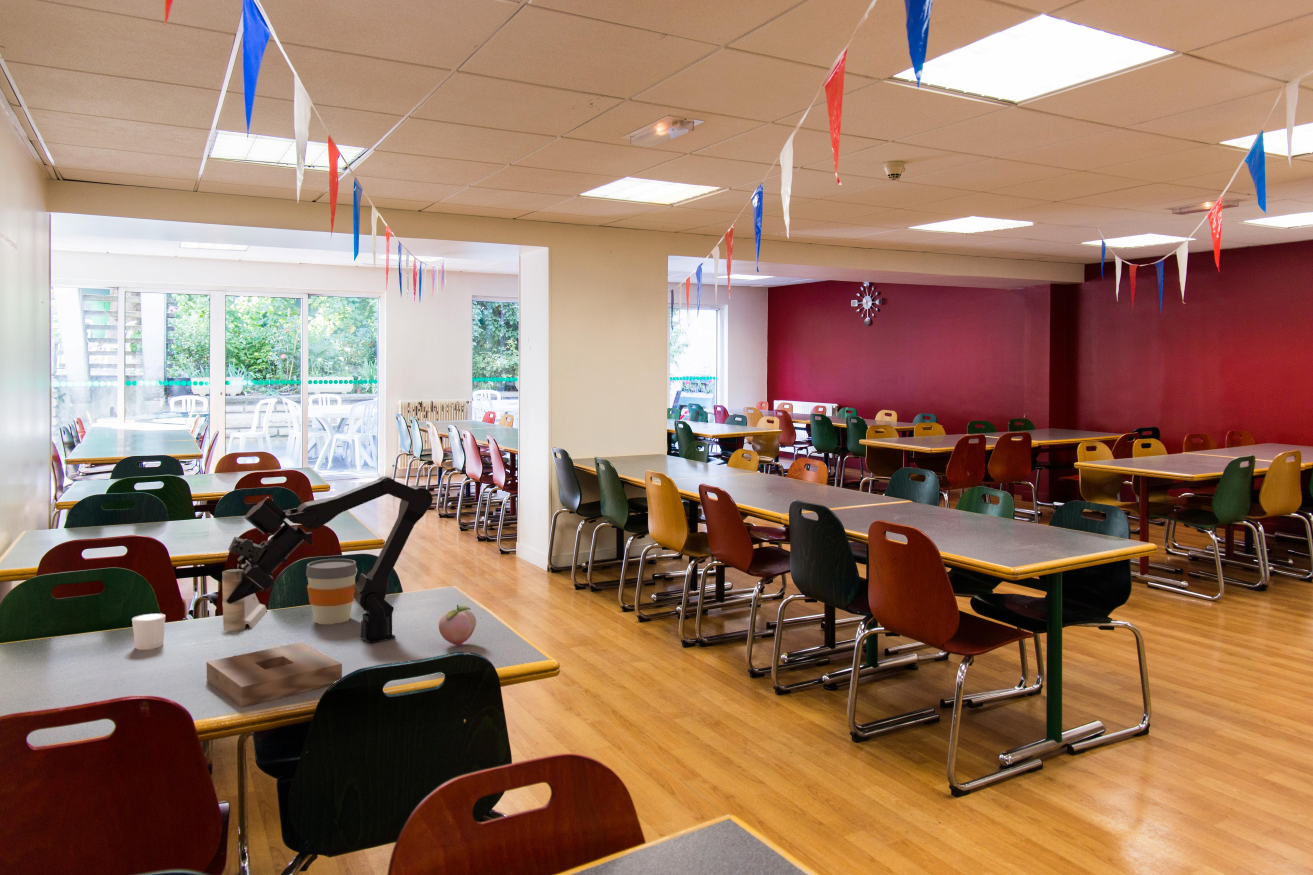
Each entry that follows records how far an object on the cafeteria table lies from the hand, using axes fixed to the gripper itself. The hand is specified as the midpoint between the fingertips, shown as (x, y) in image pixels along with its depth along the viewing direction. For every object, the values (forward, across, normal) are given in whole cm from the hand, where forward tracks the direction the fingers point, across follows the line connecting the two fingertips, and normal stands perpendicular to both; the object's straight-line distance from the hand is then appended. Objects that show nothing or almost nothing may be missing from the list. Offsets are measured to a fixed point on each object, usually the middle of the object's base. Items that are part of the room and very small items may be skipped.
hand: (226, 600), depth 192 cm
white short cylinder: (+20, -19, -1) cm, 28 cm away
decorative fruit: (-24, +14, +44) cm, 52 cm away
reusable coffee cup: (-9, -22, +28) cm, 37 cm away
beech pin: (+4, 0, +6) cm, 7 cm away
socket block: (+4, +20, +15) cm, 25 cm away
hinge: (+5, -32, +14) cm, 36 cm away
